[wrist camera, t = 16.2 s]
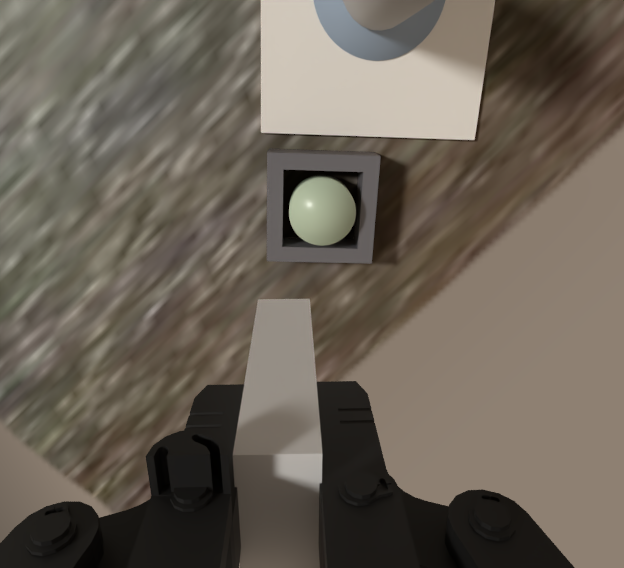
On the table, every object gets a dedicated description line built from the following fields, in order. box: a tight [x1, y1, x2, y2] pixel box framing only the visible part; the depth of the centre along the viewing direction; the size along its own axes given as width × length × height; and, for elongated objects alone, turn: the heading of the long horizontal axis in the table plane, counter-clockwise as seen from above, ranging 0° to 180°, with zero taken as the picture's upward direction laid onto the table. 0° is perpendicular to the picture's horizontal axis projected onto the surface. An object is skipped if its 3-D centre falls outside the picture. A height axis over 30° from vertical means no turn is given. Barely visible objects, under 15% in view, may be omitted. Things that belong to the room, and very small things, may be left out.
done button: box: [289, 175, 356, 246], centre depth 31 cm, size 4×4×2 cm
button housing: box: [267, 149, 381, 263], centre depth 32 cm, size 7×7×2 cm
